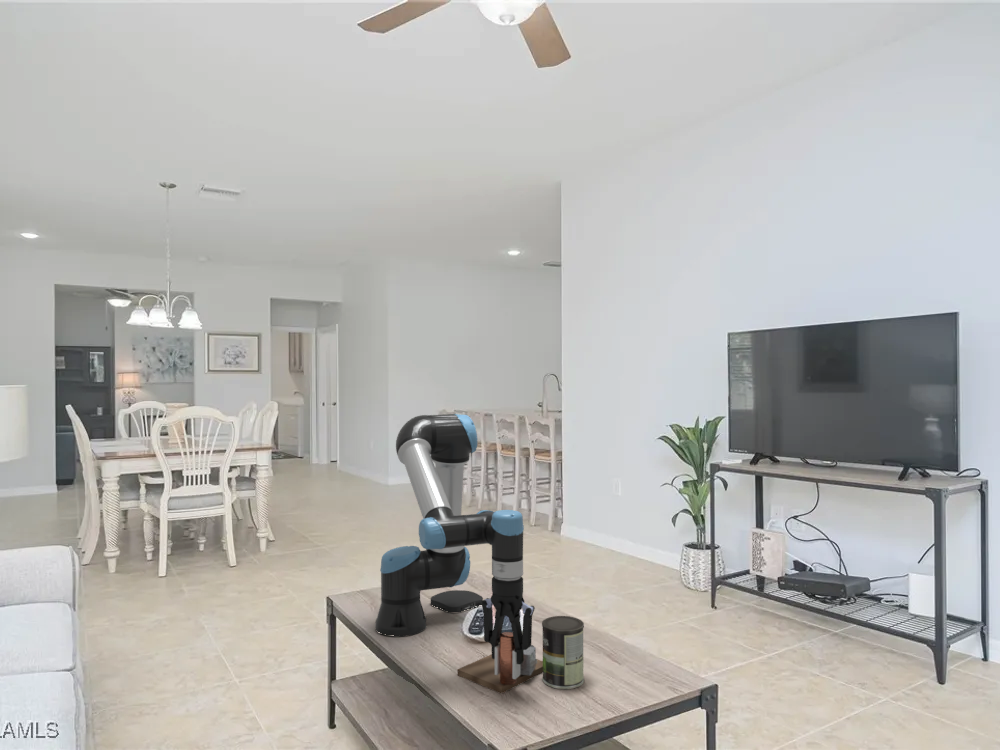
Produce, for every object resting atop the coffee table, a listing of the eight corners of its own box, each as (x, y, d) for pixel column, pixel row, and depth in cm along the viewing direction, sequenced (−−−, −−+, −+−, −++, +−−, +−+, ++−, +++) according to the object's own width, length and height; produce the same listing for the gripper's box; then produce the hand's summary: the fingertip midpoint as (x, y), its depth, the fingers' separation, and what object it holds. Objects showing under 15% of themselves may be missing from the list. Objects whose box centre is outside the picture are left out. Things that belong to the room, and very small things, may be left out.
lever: (515, 653, 177) (515, 612, 177) (542, 657, 175) (542, 614, 175) (493, 683, 160) (493, 636, 160) (522, 687, 158) (522, 640, 158)
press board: (457, 675, 169) (457, 668, 169) (505, 653, 182) (505, 647, 182) (501, 693, 159) (501, 686, 159) (548, 669, 172) (548, 662, 172)
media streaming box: (459, 595, 234) (459, 586, 234) (487, 605, 223) (487, 596, 223) (425, 605, 224) (425, 595, 224) (453, 616, 213) (453, 606, 213)
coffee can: (543, 689, 161) (542, 630, 161) (541, 671, 171) (541, 615, 171) (586, 689, 161) (585, 630, 161) (582, 671, 171) (581, 615, 171)
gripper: (468, 575, 162) (468, 673, 162) (533, 585, 154) (533, 688, 153) (484, 568, 168) (483, 662, 168) (546, 577, 160) (546, 676, 160)
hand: (507, 674), depth 161 cm, fingers closed on lever, 4 cm apart
